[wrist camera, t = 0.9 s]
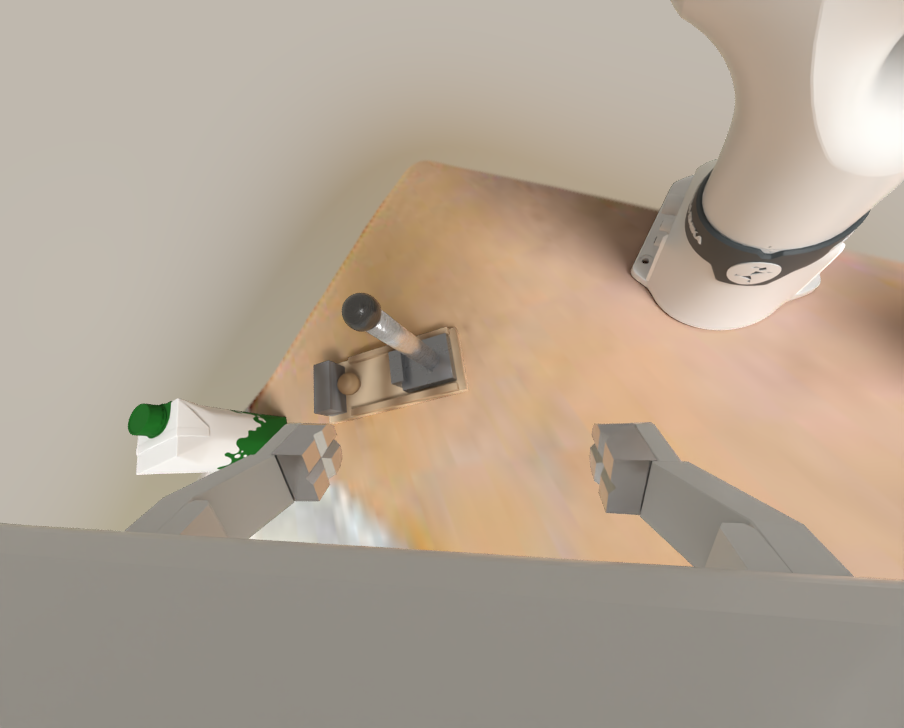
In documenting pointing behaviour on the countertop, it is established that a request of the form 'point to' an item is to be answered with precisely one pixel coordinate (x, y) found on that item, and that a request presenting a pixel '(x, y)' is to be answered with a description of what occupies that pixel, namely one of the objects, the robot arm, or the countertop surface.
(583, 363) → the countertop surface
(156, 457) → the milk carton
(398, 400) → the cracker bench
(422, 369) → the ball-top joystick lever
